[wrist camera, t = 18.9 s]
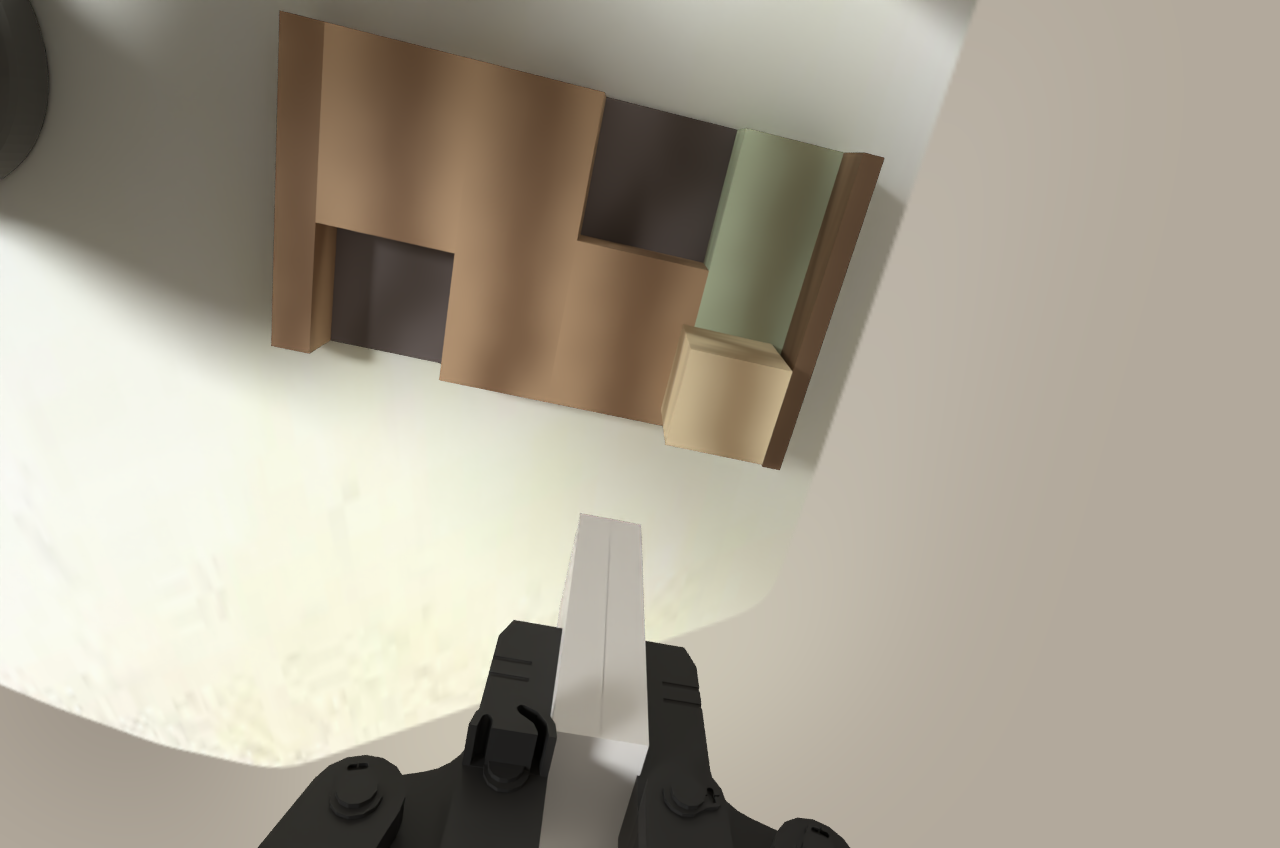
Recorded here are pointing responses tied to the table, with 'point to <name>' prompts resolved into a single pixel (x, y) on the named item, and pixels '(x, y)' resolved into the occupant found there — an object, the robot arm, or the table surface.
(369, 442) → the table surface
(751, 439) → the maple block
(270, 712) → the table surface
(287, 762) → the table surface
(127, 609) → the table surface
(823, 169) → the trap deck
